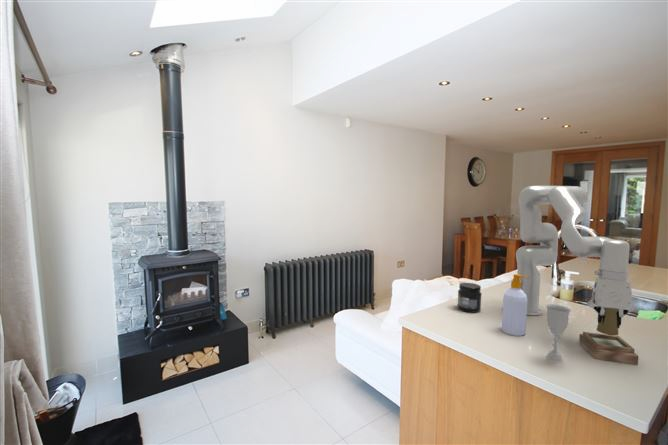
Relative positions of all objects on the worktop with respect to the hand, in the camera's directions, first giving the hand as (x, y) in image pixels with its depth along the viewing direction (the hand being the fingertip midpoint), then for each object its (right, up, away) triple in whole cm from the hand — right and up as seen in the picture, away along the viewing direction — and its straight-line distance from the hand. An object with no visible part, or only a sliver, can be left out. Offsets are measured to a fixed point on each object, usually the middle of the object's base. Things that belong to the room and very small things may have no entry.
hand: (608, 325), depth 117 cm
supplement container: (-32, -6, +44) cm, 54 cm away
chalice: (-22, -10, -4) cm, 25 cm away
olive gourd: (0, -2, 0) cm, 3 cm away
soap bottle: (-24, -8, +18) cm, 31 cm away
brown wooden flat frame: (0, -10, +1) cm, 10 cm away
